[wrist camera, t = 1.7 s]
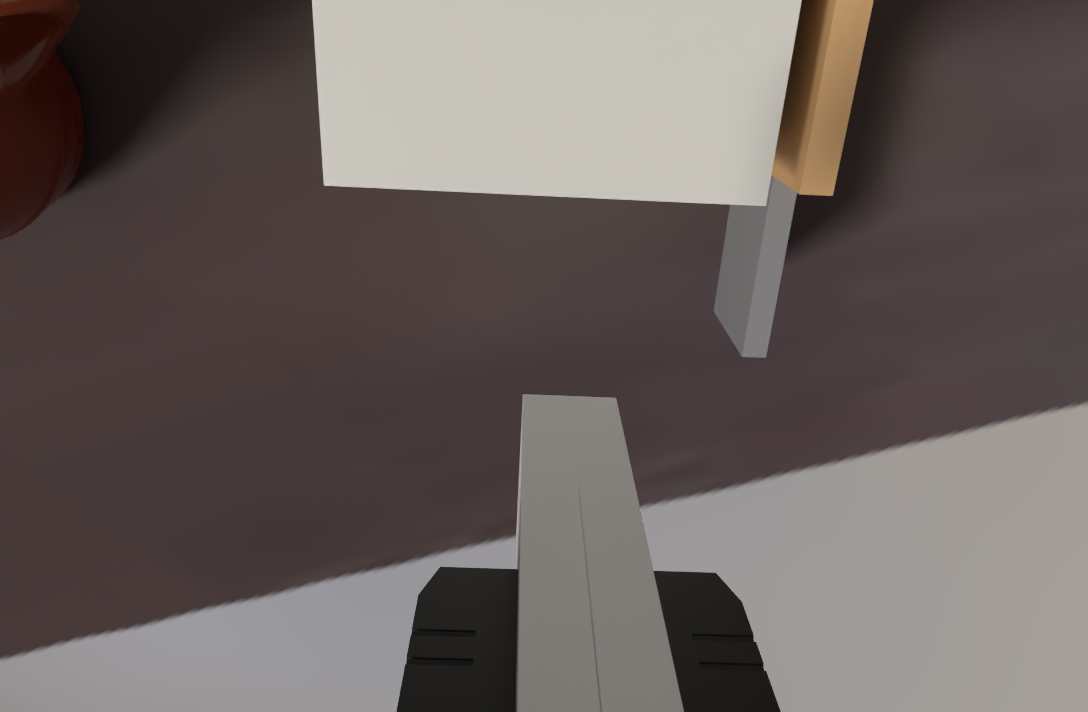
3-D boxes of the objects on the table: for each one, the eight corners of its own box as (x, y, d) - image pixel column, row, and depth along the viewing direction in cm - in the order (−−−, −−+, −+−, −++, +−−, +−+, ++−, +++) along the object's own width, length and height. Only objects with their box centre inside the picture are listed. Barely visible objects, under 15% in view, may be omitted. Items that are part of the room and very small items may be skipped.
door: (685, 295, 27) (741, 395, 20) (768, -307, 20) (895, -465, 13) (726, 296, 27) (794, 397, 20) (821, -303, 20) (975, -457, 13)
